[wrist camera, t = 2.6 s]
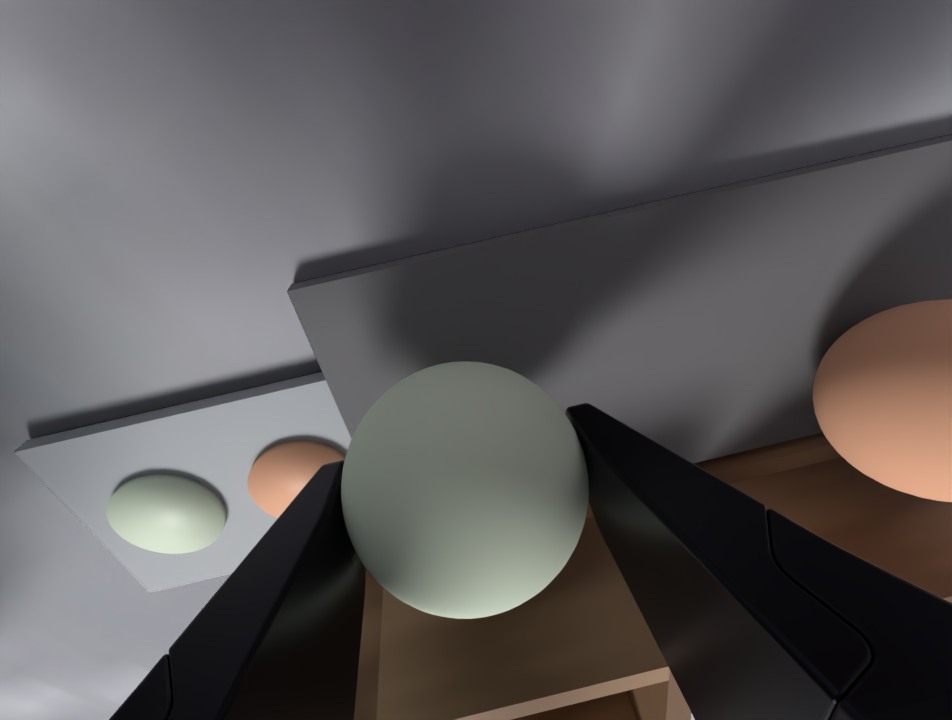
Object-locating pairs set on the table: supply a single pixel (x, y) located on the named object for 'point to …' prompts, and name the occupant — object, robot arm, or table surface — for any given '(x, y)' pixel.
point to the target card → (192, 476)
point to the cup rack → (624, 607)
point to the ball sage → (464, 490)
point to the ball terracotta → (893, 398)
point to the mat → (659, 300)
